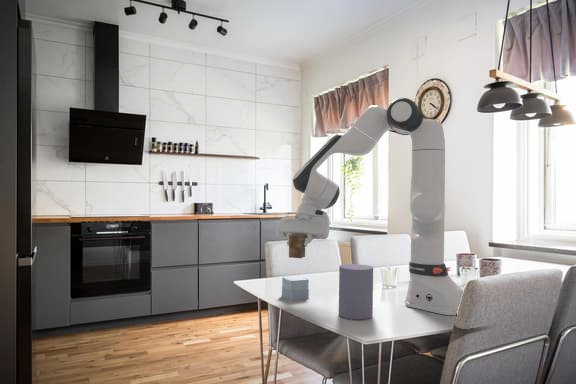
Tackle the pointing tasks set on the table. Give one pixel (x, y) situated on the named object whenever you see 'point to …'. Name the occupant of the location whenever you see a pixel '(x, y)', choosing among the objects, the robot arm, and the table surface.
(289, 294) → the tower base
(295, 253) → the walnut block
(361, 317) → the container
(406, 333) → the table surface
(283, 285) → the tower top
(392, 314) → the table surface
